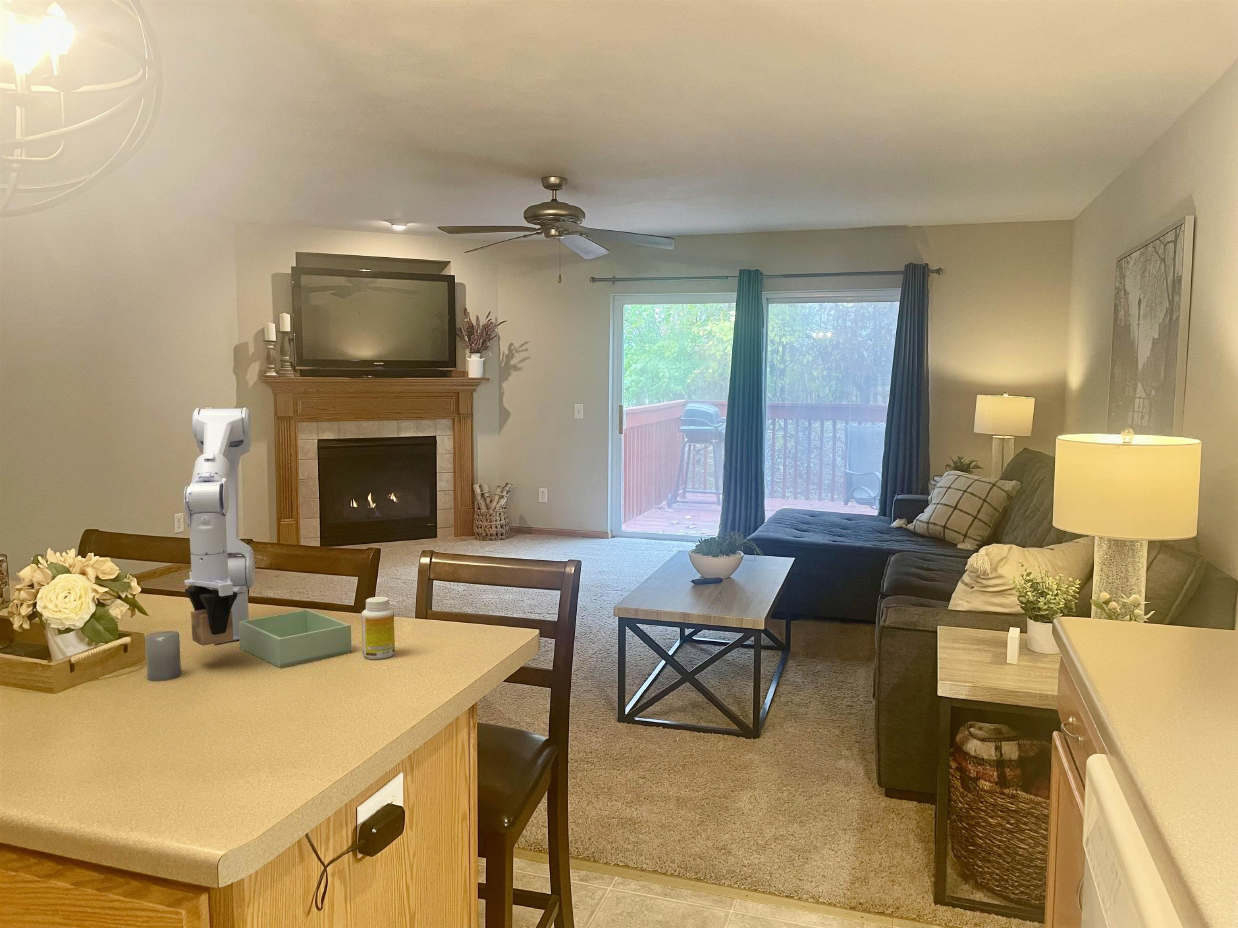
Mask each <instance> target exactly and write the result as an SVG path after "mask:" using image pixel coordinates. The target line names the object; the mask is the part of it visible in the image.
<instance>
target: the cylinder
mask: <svg viewBox="0 0 1238 928" xmlns="http://www.w3.org/2000/svg"><path fill="white" fill-rule="evenodd" d="M144 637H145V641H144V642H145V660H146V679H147V681H149V682H150V681H151V682H164V681H170V680H173V679H177V678H179V677H180V676H181V675H182V668H181V664H182V663H181V662H182V661H181V646H180V645H181V643H180V632H179V631H176V630H163V631H156V632H152V633H149V634H147V635H145V636H144Z"/></svg>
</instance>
